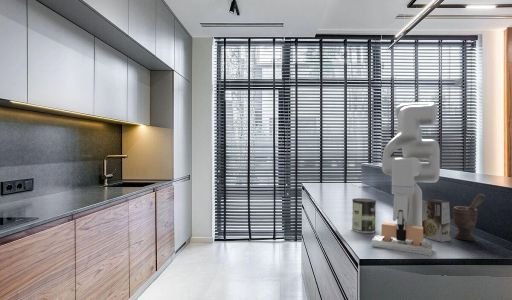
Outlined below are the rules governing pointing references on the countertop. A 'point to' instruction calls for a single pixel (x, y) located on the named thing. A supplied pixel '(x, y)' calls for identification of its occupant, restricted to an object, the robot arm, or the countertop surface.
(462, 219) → the mortar and pestle
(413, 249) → the flat gray board
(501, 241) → the countertop surface
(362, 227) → the coffee can
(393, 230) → the orange pronged block
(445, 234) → the coffee box
